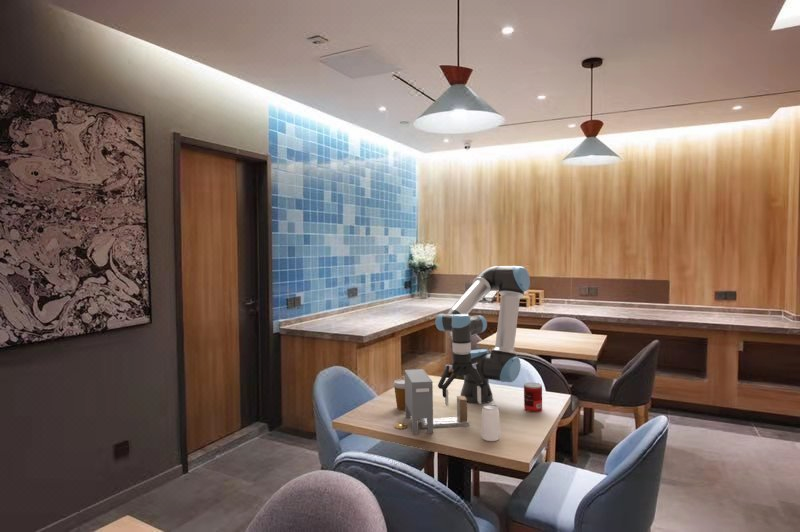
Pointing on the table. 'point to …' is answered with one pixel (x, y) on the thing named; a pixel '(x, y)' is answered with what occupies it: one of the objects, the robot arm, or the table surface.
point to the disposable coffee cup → (400, 393)
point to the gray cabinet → (419, 398)
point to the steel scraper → (452, 421)
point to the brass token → (400, 425)
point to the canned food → (533, 397)
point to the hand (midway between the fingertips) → (463, 403)
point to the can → (490, 422)
